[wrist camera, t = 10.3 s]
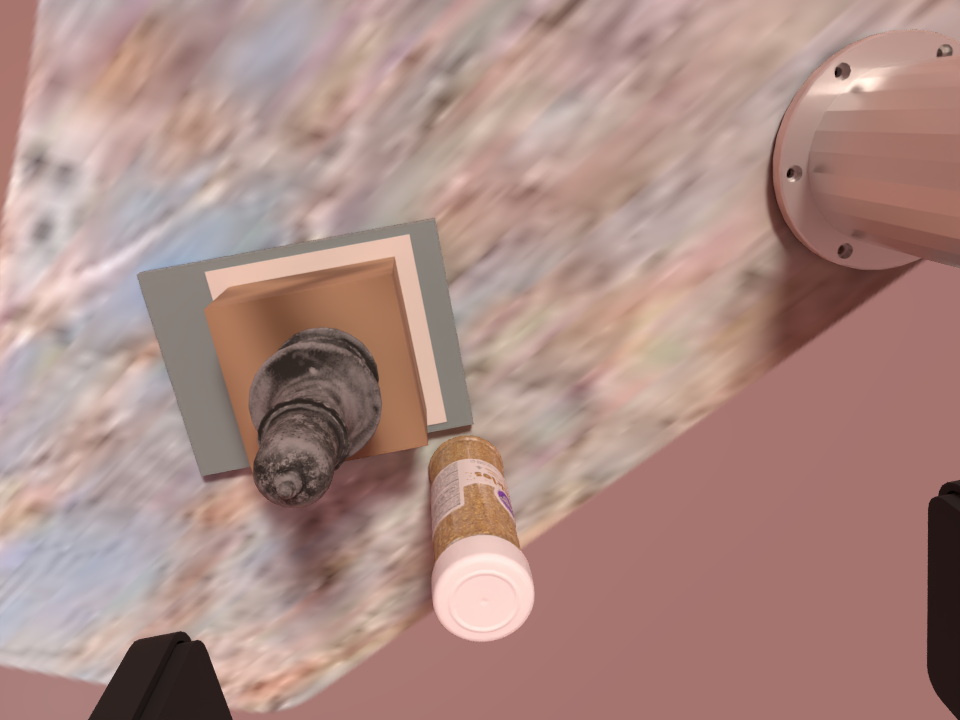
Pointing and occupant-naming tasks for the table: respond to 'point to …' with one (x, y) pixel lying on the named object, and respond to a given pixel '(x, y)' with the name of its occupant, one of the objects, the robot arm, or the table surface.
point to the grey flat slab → (195, 285)
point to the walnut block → (331, 304)
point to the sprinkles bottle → (476, 544)
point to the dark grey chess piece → (312, 413)
